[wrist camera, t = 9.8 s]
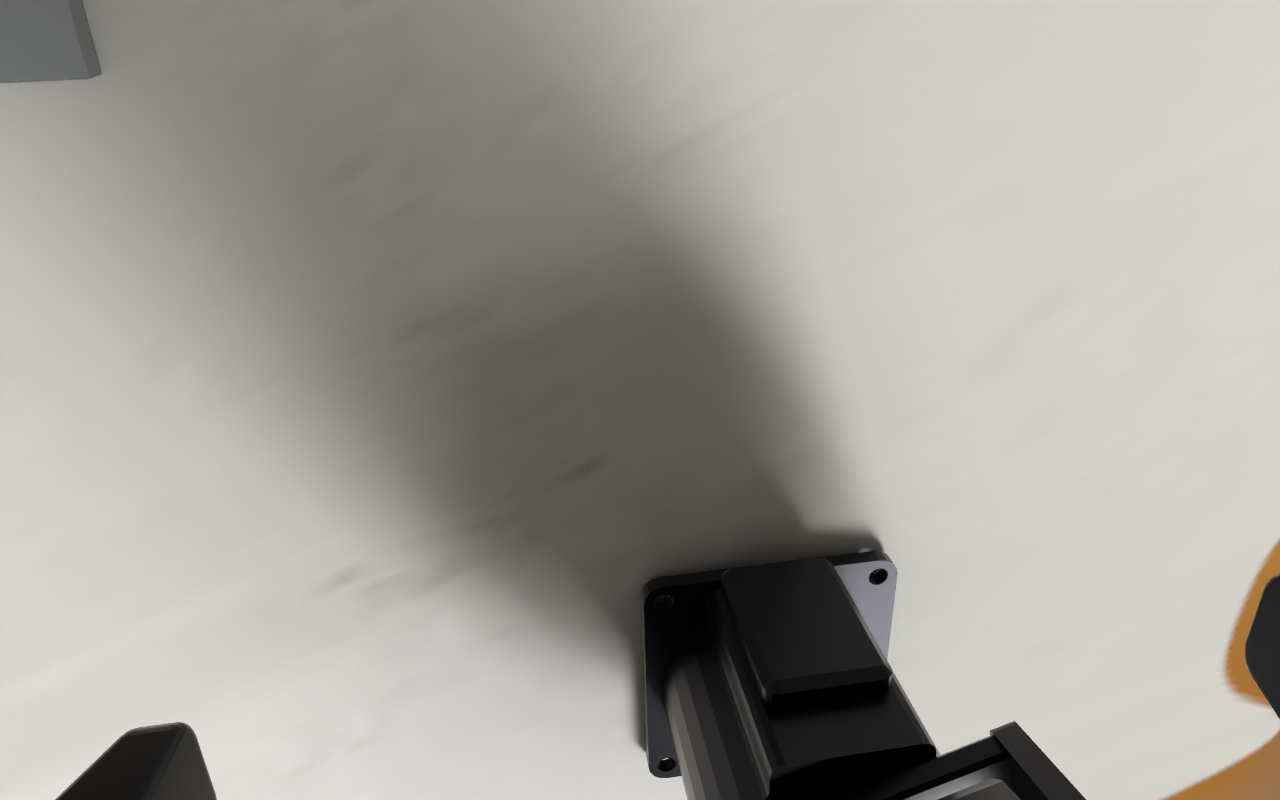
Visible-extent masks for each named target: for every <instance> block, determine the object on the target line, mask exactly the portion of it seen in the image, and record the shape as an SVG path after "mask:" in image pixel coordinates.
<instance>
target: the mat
mask: <svg viewBox="0 0 1280 800" xmlns="http://www.w3.org/2000/svg"><path fill="white" fill-rule="evenodd" d="M98 75H101V70H100V67H99V63H98V59H97V56H96V52H95V48H94V44H93V41H92V37H91V33H90V30H89V26H88V22H87V19H86V15H85V11H84V8H83V4H82V0H0V83H14V82H35V81H56V80H77V79H90V78H93V77H95V76H98Z"/></svg>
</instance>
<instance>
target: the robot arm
mask: <svg viewBox="0 0 1280 800" xmlns="http://www.w3.org/2000/svg"><path fill="white" fill-rule="evenodd" d="M879 568H881V570H880V571H879V572H878V573H877V574H874V575H870V573H871V572H873V571H874V570H876V569H879ZM896 580H897V568H896V567H895V565H894V564H893V562H892V561H891V559H890V558H889V557H888V555H887V554H885V553H883V552H880V551H872V552H863V553H855V554H847V555H839V556H830V557H822V558H812V559H804V560H796V561H788V562H779V563H771V564H763V565H755V566H746V567H738V568H731V569H723V570H715V571H707V572H698V573H690V574H682V575H674V576H665V577H659V578H656V579H653V580H651V581H650V582H648V583H647V584H646V585H645V587H644V588H643V589H642V594H641V607H642V637H643V668H644V699H645V729H646V757H647V761H648V766H649V770H650V772H651V773H652V774H653V775H654V776H656V777H659V778H670V777H676V776H682V779H683V783H684V787H685V791H686V795H687V799H688V800H1086V799H1085V798H1084V797H1083V796H1082V795H1081V794H1080V792H1079V791H1078V790H1077V789H1076V788H1075V787H1074V786H1073V785H1072V784H1071V783H1070V781H1069V780H1068V779H1067V778H1066V777H1065V776H1064V775H1063V774H1062V773H1061V772H1060V770H1059V769H1058V768H1057V767H1056V766H1055V765H1054V764H1053V763H1052V762H1051V760H1050V759H1049V758H1048V757H1047V756H1046V755H1045V754H1044V753H1043V752H1042V751H1041V749H1040V748H1039V747H1038V746H1037V745H1036V744H1035V743H1034V742H1033V741H1032V739H1031V738H1030V737H1029V736H1028V735H1027V734H1026V733H1025V732H1024V731H1023V730H1022V728H1021V727H1020V726H1019V725H1018V724H1017V723H1016V722H1015V721H1014V722H1011V723H1008V724H1006V725H1003V726H1001V727H998V728H996V729H993V730H991V731H990V735H991V736H989V737H986V738H984V739H981V740H978V741H976V742H973V743H971V744H968V745H966V746H963V747H961V748H958V749H956V750H953V751H950V752H948V753H945V754H943V755H940V753H939V752H938V750H937V748H936V746H935V745H934V743H933V741H932V739H931V738H930V736H929V734H928V732H927V730H926V729H925V727H924V725H923V723H922V722H921V720H920V718H919V716H918V715H917V713H916V711H915V709H914V708H913V706H912V704H911V702H910V701H909V699H908V697H907V695H906V694H905V692H904V690H903V688H902V687H901V685H900V683H899V681H898V679H897V678H896V676H895V674H894V672H893V671H892V669H891V666H890V665H889V663H888V661H887V656H888V647H889V639H890V630H891V622H892V614H893V605H894V597H895V589H896ZM662 595H669V596H670V597H669V598H668V599H667V600H664V601H662V602H660V601H655V600H656V599H657V598H658V597H659V596H662ZM1245 659H1246V664H1247V666H1248V669H1249V671H1250V673H1251V675H1252V677H1253V678H1254V680H1255V681H1256V683H1257V684H1258V686H1259V688H1260V689H1261V691H1262V692H1263V694H1264V695H1265V697H1266V699H1267V700H1268V702H1269V703H1270V705H1271V706H1272V708H1273V709H1274V711H1275V712H1276V714H1277V715H1278V717H1279V719H1280V574H1278V575H1275V576H1273V577H1272V578H1271V579H1270V580H1269V581H1268V582H1267V584H1266V586H1265V588H1264V590H1263V593H1262V596H1261V599H1260V602H1259V605H1258V608H1257V611H1256V614H1255V617H1254V619H1253V622H1252V626H1251V628H1250V631H1249V634H1248V637H1247V640H1246V644H1245ZM665 758H669V759H666V760H662V759H665ZM55 800H217V798H216V794H215V791H214V788H213V785H212V782H211V779H210V776H209V773H208V770H207V767H206V764H205V761H204V758H203V755H202V752H201V749H200V746H199V743H198V740H197V737H196V735H195V733H194V731H193V730H192V728H191V727H190V726H189V725H187V724H185V723H181V722H176V723H169V724H161V725H154V726H147V727H139V728H135V729H132V730H130V731H128V732H126V733H125V734H124V735H122V736H121V737H120V738H119V739H118V740H117V741H116V742H115V743H114V744H112V745H111V746H110V747H109V748H108V749H107V750H106V751H105V752H104V753H103V754H102V755H101V756H100V757H99V758H98V759H97V760H96V761H95V762H94V763H93V764H92V765H91V766H90V767H89V768H88V769H87V770H86V771H84V772H83V773H82V774H81V775H80V776H79V777H78V778H77V779H76V780H75V781H74V782H73V783H72V784H71V785H70V786H69V787H68V788H67V789H66V790H65V791H64V792H63V793H62V794H61V795H60V796H59V797H58V798H56V799H55Z"/></svg>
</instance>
